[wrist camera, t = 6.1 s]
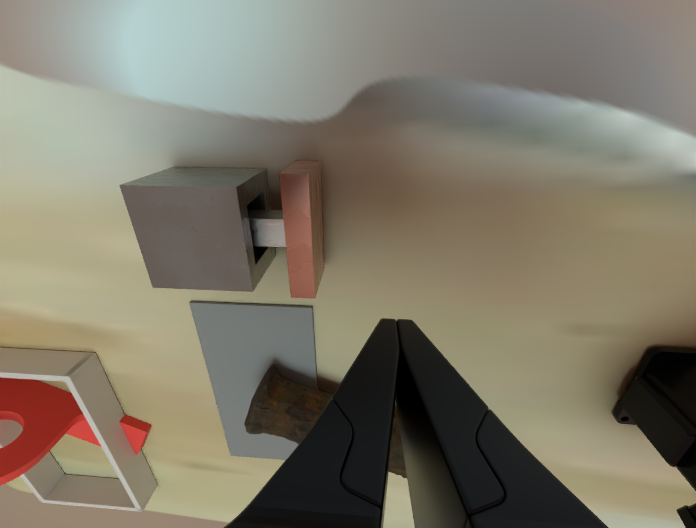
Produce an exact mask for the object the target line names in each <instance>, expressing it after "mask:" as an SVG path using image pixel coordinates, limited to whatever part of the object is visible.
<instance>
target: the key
mask: <svg viewBox="0 0 696 528" xmlns="http://www.w3.org/2000/svg"><path fill="white" fill-rule="evenodd" d="M279 179H280V190H281V200H282V210H253V209H247V211H248V218H249V225H250V232H251V238H252V245H253V246H267V247H286V251H287V261H288V272H289V282H290V292H291V297H294V298H315V297H316V294H317V290H318V287H319V284H320V281H321V277H322V274H323V271H324V246H323V221H322V195H321V170H320V160H296V161H294V162H293V163H292V164H290V165H289V166H288V167H287V168H285V169H284V170H283V171H281V172H280V173H279Z"/></svg>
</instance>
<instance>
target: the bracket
mask: <svg viewBox="0 0 696 528" xmlns="http://www.w3.org/2000/svg"><path fill="white" fill-rule="evenodd" d="M0 420H12V421H15V422H18V423H19V424H20V425H21V426H22V428H23V430H22V432H21V434H20V435H19V436H18V437H17V438H16V439H15V440H14V441H13V442H11V443H10V444H8V445H7V446H5V447H3V448H0V485H2V484H5V483H7V482H9V481H11V480H13V479H15V478H17V477H19V476H20V475H22V474H24V473H25V472H27V471H28V470H29V469H31V468H32V467H33V466H35V465H36V464H37V463H38V462H39V461H40V460H41V459H42V458H43V457H44V456H45V455H46V454H47V453H48V452H49V451H50V450H51V449H52V447H53V446H54V445H55V444H56V443H57V442H58V441H59V440H60V439H61V438H62V437H63V436H64V434H65V433H66V434H69V435H72V436H74V437H77V438H80V439H82V440H85V441H88V442H91V443H93V444H96V445H99V446H101V445H100V443H99V441H98V439H97V438H96V436H95V434H94V432H93V430H92V429H91V427H90V425H89V423H88V421H87V420H86V418H85V416H84V414H83V412H82V411H81V409H80V407H79V405H78V404H77V402H76V400H75V398H74V396H73V395H72V393H69V392H67V391H64V390H62V389H59V388H57V387H54V386H51V385H49V384H46V383H44V382H41V381H39V380H34V379H18V378H2V377H0ZM119 422H120V424H121V426H122V428H123V430H124V432H125V434H126V436H127V438H128V440H129V442H130V444H131V446H132V448H133V450H134V452H135V454H136V455H137V454H138V453H139V451H140V450H141V448H142V447H143V445H144V443H145V440H146V438H147V435H148V433H149V430H150V428H151V424H148V423H146V422H143V421H141V420H138V419H136V418H133V417H131V416H128V415H124V416H123V418H122V419H121V420H120V421H119Z"/></svg>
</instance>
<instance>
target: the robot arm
mask: <svg viewBox="0 0 696 528" xmlns="http://www.w3.org/2000/svg"><path fill="white" fill-rule="evenodd" d="M395 401H396V406H397V414H398V420H399V427H400V433H401V440H402V446H403V453H404V460H405V466H406V473H407V479H408V486H409V492H410V499H411V505H412V512H413V518H414V525H415V528H608V527H607V526H606V525H605V524H604V523H603V522H602V521H601V520H600V519H599V518H598V517H597V516H596V515H595V514H594V513H593V512H592V511H591V510H589V509H588V508H587V507H586V506H585V505H584V504H583V503H582V502H581V501H580V500H579V499H578V498H577V497H576V496H575V495H574V494H573V493H572V492H571V491H570V490H569V489H568V488H566V487H565V486H564V485H563V484H562V483H561V482H560V481H559V480H558V479H557V478H556V477H555V476H554V475H553V474H552V473H551V472H550V471H549V470H548V469H547V468H546V467H545V466H544V465H543V464H542V463H541V462H540V461H539V460H538V459H537V458H535V457H534V456H533V455H532V454H531V453H530V452H529V451H528V450H527V449H526V448H525V447H524V446H523V445H522V444H521V443H520V441H519V440H518V439H517V438H516V437H515V436H514V435H513V434H512V433H511V432H510V431H509V430H508V428H507V427H506V426H505V425H504V424H503V423H502V422H501V421H500V420H499V418H498V417H497V416H496V415H495V414H494V413H493V412H492V410H490V409H489V408H488V406H487V405H486V404H485V403H484V402H483V400H482V399H481V398H480V397H479V396H478V395H477V394H476V392H475V391H474V390H473V389H472V388H471V387H470V386H469V384H468V383H467V382H466V381H465V380H464V379H463V378H462V376H461V375H460V374H459V373H458V372H457V371H456V370H455V368H454V367H453V366H452V365H451V364H450V363H449V362H448V360H447V359H446V358H445V357H444V356H443V355H442V354H441V352H440V351H439V350H438V349H437V348H436V347H435V346H434V344H433V343H432V342H431V341H430V340H429V339H428V338H427V336H426V335H425V334H424V333H423V332H422V331H421V330H420V328H419V327H418V326H417V325H416V324H415V323H414V322H413V321H412V320H408V319H398V320H397V321H396V320H395V319H385V318H383V319H381V320H380V321H379V323H378V324H377V326H376V327H375V329H374V331H373V332H372V334H371V335H370V337H369V339H368V340H367V342H366V343H365V345H364V347H363V348H362V350H361V351H360V353H359V355H358V356H357V358H356V359H355V361H354V363H353V364H352V366H351V367H350V369H349V371H348V372H347V374H346V375H345V377H344V379H343V380H342V382H341V383H340V385H339V386H338V388H337V390H336V391H335V393H334V394H333V396H332V398H331V400H330V401H329V402H328V404H327V405H326V407H325V409H324V410H323V412H322V413H321V415H320V416H319V418H318V419H317V421H316V422H315V424H314V425H313V426H312V428H311V429H310V431H309V432H308V433H307V434H306V436H305V437H304V438H303V440H302V441H301V442H300V443H299V445H298V446H297V447H296V448H295V450H294V451H293V452H292V453H291V455H290V456H289V457H288V458H287V459H286V461H285V462H284V463H283V464H282V465H281V467H280V468H279V469H278V470H277V471H276V473H275V474H274V475H273V476H272V477H271V479H270V480H269V481H268V482H267V483H266V485H265V486H264V487H263V488H262V489H261V491H260V492H259V493H258V494H257V495H256V497H255V498H254V499H253V500H252V501H251V502H250V504H249V505H248V506H247V507H246V508H245V509H244V510H243V511H242V512H241V513H240V514H239V515H238V516H237V517H236V518H235V519H234V520H233V521H231V522H230V523H229V524H228V525H226V526H225V527H224V528H383V521H384V511H385V501H386V491H387V481H388V471H389V461H390V451H391V441H392V431H393V422H394V412H395ZM488 409H489V410H488ZM613 416H614V418H615V419H616V421H617V422H618V423H621V424H634V425H637V426H638V427H639V428H640V430H641V431H642V432H643V433H644V435H645V436H646V437H647V438H648V440H649V441H650V442H651V443H652V445H653V446H654V447H655V448H656V450H657V451H658V452H659V453H660V455H661V456H662V457H663V458H664V460H665V461H666V462H667V463H668V464H669V465H670V466H672V467H677V469H678V470H679V471H680V472H681V474H682V475H683V476H684V477H685V478H686V480H687V481H688V482H689V483H690V485H691V486H692V487H693V488H694V490H695V491H696V349H689V348H669V347H655V348H652V349H650V350H649V351H648V352H647V354H646V355H645V357H644V359H643V361H642V363H641V364H640V366H639V368H638V370H637V372H636V373H635V375H634V377H633V379H632V381H631V382H630V384H629V386H628V388H627V390H626V391H625V393H624V395H623V397H622V399H621V400H620V402H619V404H618V406H617V408H616V409H615V411H614V413H613ZM677 512H678V514H679V516H680V518H681V520H682V521H683V523H684V525H685V527H686V528H696V504H693V505H691V506H686V505H685V506H683V507H681V508H679V509H677Z"/></svg>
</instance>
